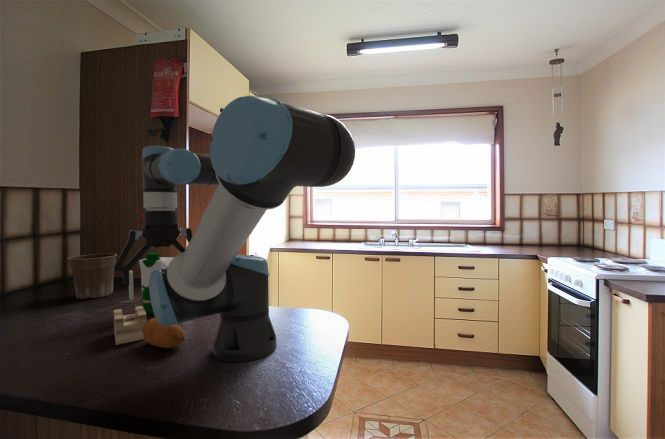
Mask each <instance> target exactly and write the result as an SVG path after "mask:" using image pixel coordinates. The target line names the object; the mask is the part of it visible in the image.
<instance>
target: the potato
mask: <svg viewBox="0 0 665 439" xmlns="http://www.w3.org/2000/svg"><path fill="white" fill-rule="evenodd" d="M142 333H143V337H144V339H143V341H145V342H146V343H148V344H149V345H150V346H155V347H157V348H161V349H162V348H163V349H172V348H175V347H176V346H178V345H181V344H182V343H183V341H184V340H185V337H186V333H185V331H184V329H183V328H182V327H181V326H180V325H179V324H178V325H177V324H174V325H168V326H163V325H161V324H159V323H158V321H157V319H156V317H153V318H151V319H149V320H147V322H146V323H145V325H144V327H143V332H142Z"/></svg>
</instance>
